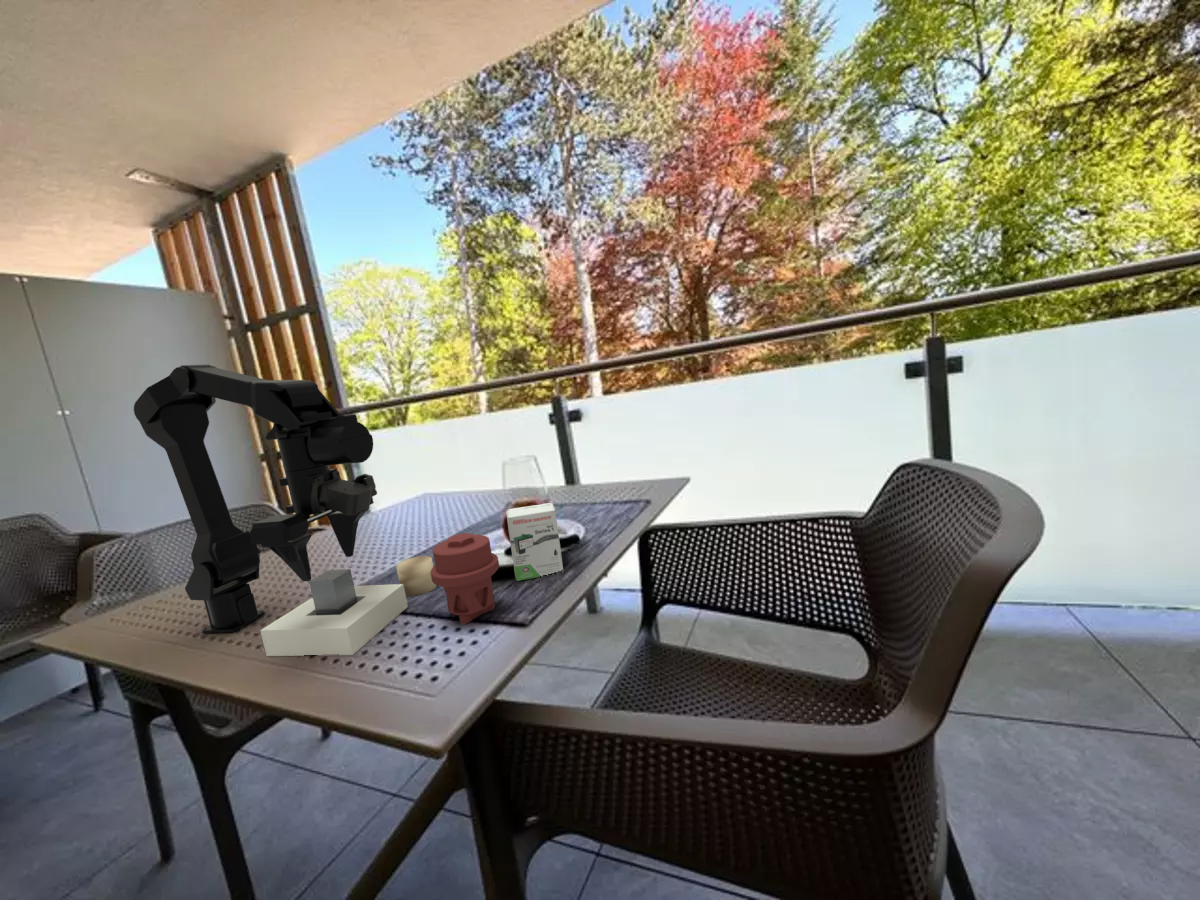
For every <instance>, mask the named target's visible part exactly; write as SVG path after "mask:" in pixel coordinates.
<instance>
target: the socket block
mask: <svg viewBox="0 0 1200 900" xmlns="http://www.w3.org/2000/svg"><path fill="white" fill-rule="evenodd" d="M354 588H355V593H356V598H357V603H356V604H355V605H353V606H352V607H351V608H349V609H348V610H346V611H345V612H344V613H342V614H341V615H317V614H316V610H315V605H314V601H313V597H311V598H310V599H308V600H306V601H305V602H303V603H301V604H300V605H298V606H297V607H295V608H293V609H292V610H291V611H289V612H287V613H286V614H284V615H282V616H281V617H279V618H278V619H276V620H275V621H273V622H272V623H270V624H268V625H266V626H265V627H264V628H262V629H260V634H261V639H262V641H263V646H264V650H265V655H266V657H289V656H290V657H291V656H292V657H294V656H297V657H305V656H304V655H318V656H324V655H323V654H339V655H338V656H353V655H354V654H356V653H357V652H358V651H359V650H360V649H361V648H362V647H364V646H365V645H366V644H367V643H368V642H369V641H371V640H372V639H373V638H374V637H375V636H376V635H377V634H378V633H379V632H381V631H382V630H383V629H385V628H386V626H388V625H389V624H390V623H391V622H392V621H393V620H395V619H396V618H397V617H398V616H399V615H400V614H401V613H402V612H404V611H405V610H406V609H407V608H408V605H409V604H408V601H407V596H406V595H405V590H404V585H403V584H399V583H394V584H392V583H391V584H371V585H368V584H367V585H354Z"/></svg>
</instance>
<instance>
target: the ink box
mask: <svg viewBox="0 0 1200 900" xmlns="http://www.w3.org/2000/svg"><path fill="white" fill-rule="evenodd" d="M505 513H506V520H507V528H508V535H509V541H510V542H509V543H510V549H511V555H512V563H513V569H514V570H513V571H514V577H515V580H516V581H517V582H520V581H525V580H529V579H536V578H540V576H541V577H544V576H543V575H547V576H549V575H548V574H551V573H554V572H558V571H561V570H563V571H564V566H563V559H562V558H563V557H562V551H561V550H562V549H561V543H560V536H559V527H558V520H557V519H558V518H557V514H556V507H555V506H554V504H553V503H552V502H548V503H547V502H546V503H542V504H536V505H535V504H534V505H528V506H521V507H514V508H509V509H508V510H507V511H506V512H505Z"/></svg>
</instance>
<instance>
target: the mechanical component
mask: <svg viewBox="0 0 1200 900" xmlns="http://www.w3.org/2000/svg"><path fill="white" fill-rule="evenodd" d="M490 542H491V541H490V538H489V537H488V536H486V535H483V534H473V533H470V532H465V533H458V534H454V535H451V536H450V537H448V538H447V539H446V540H444V541H442V542H440V543H438V544H437V545H435V547H433V549H432V555H433V561H434V565H433V568H432V569H431V572H430V573H431V578H432V582H433V583H434V584H436V586H439V587H441V588H443V589H444V592H445V594H446V605H447V610H448V612H449V613H450V614H453V615H454V616H455V615H456V616H458V618H459V623H460V624H462V625H466V624H470V623H471V622H472V621H474V619H476V618H477V617H480V616H481V615H483V614H486V613H488V612H492V611H493V610H495V608H496V606H495V605H496V604H495V595H494V589H493V582H492V576H493V575H494V574H496V572H497V571H498V570H499V568H500V562H499V557H498V555H497V554H495V553H493V552H492V548H491V543H490Z"/></svg>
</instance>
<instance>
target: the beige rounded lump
mask: <svg viewBox="0 0 1200 900" xmlns="http://www.w3.org/2000/svg"><path fill="white" fill-rule="evenodd" d="M433 567H434V564H433V558H432V556H429V555H420V556H414V557H410V558H407V559H405V560H402V561H401V562H399V563H398V564H396V567H395V568H396V572H397V578H398V584H403V585H404V590H405V595H406V597H416V596H421V595H424V594H426V593H429V592H431V591H433V590H434V589H435V588H436V587H437V585H436V584H434V583H433V582H432V578H431V573H430V572H431V569H432V568H433Z"/></svg>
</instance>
